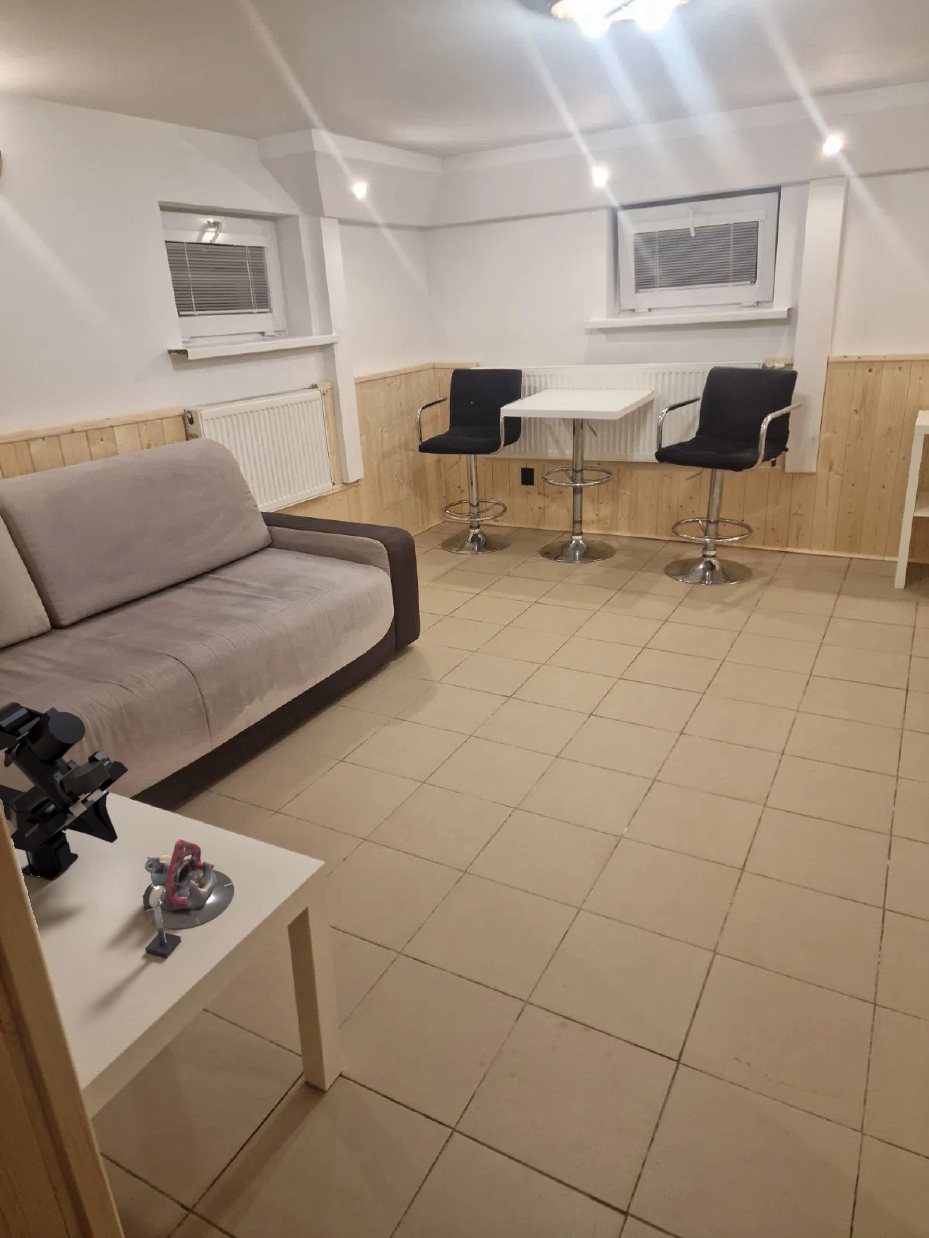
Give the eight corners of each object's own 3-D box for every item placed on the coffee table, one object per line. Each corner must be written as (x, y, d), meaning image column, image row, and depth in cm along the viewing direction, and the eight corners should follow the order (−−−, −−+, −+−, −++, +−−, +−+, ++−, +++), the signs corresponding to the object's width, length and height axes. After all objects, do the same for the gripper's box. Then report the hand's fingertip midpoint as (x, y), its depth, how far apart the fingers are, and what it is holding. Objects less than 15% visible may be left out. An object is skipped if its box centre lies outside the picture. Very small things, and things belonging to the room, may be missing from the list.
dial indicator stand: (146, 953, 123) (134, 892, 119) (160, 936, 126) (150, 876, 122) (166, 958, 122) (155, 897, 118) (181, 941, 125) (171, 880, 121)
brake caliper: (208, 913, 127) (155, 858, 125) (161, 939, 131) (110, 886, 128) (239, 866, 137) (191, 813, 135) (195, 891, 141) (148, 841, 139)
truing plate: (125, 918, 130) (125, 917, 130) (178, 862, 142) (178, 861, 142) (203, 937, 126) (202, 936, 126) (250, 878, 138) (250, 877, 138)
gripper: (28, 780, 121) (101, 857, 123) (112, 718, 137) (176, 787, 139) (-6, 812, 126) (65, 885, 128) (79, 749, 142) (141, 814, 144)
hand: (115, 840), depth 135 cm, fingers closed
